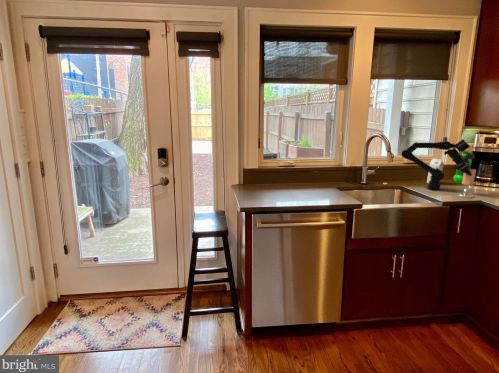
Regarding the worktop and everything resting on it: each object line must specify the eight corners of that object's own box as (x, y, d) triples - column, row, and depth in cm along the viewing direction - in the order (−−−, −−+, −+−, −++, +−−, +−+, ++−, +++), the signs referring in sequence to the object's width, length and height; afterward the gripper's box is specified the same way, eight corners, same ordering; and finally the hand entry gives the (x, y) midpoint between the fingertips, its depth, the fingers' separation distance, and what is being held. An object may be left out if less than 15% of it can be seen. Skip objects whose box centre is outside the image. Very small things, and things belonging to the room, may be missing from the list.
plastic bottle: (462, 181, 262) (467, 150, 256) (470, 184, 252) (476, 152, 246) (449, 181, 262) (454, 149, 256) (457, 184, 252) (462, 151, 246)
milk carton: (430, 181, 258) (434, 157, 254) (440, 183, 253) (444, 159, 248) (426, 183, 254) (430, 158, 249) (436, 184, 248) (440, 159, 244)
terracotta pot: (466, 185, 218) (469, 170, 215) (459, 182, 224) (462, 168, 221) (475, 185, 218) (478, 170, 216) (468, 182, 225) (471, 168, 222)
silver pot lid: (463, 197, 212) (464, 190, 211) (453, 193, 221) (454, 187, 220) (477, 197, 213) (478, 190, 212) (466, 193, 222) (468, 187, 221)
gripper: (465, 150, 211) (482, 169, 207) (468, 147, 225) (485, 165, 221) (449, 160, 217) (465, 179, 213) (453, 157, 232) (468, 175, 228)
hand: (471, 174), depth 219 cm, fingers closed on terracotta pot, 6 cm apart
